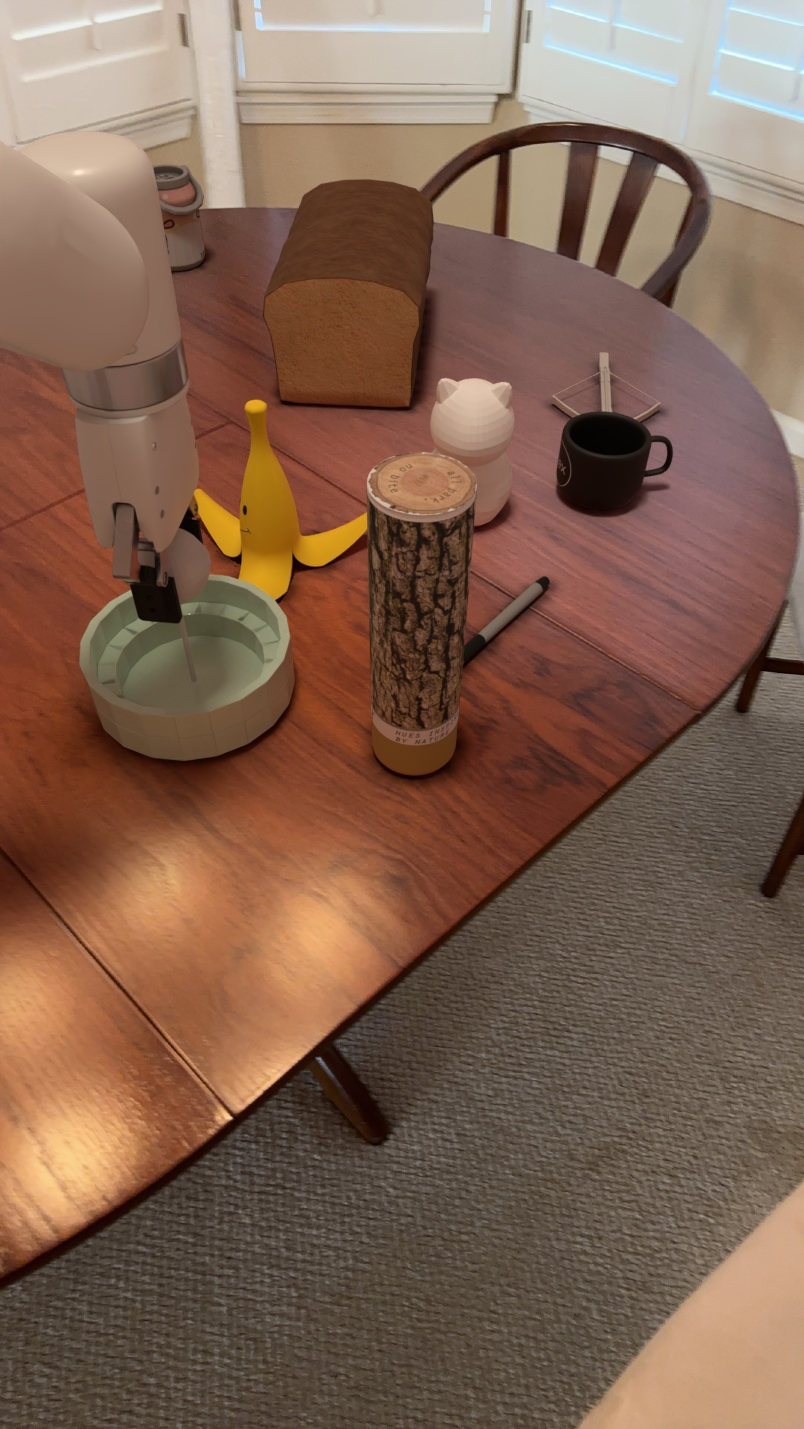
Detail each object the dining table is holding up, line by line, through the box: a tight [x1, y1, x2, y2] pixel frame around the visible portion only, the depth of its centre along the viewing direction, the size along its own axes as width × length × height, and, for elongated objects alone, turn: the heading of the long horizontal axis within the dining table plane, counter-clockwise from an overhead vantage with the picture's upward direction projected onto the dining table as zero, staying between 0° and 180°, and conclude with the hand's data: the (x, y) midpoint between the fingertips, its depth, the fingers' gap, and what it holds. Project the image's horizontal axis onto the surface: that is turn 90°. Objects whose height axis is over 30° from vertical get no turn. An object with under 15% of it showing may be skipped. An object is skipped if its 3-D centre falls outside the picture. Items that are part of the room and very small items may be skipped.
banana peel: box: [194, 399, 367, 601], centre depth 86 cm, size 17×19×17 cm
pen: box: [463, 575, 551, 665], centre depth 85 cm, size 1×16×1 cm, turn 141°
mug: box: [555, 410, 674, 510], centre depth 98 cm, size 12×9×7 cm
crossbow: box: [551, 351, 661, 423], centre depth 113 cm, size 16×13×2 cm
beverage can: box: [152, 163, 206, 272], centre depth 134 cm, size 9×8×12 cm
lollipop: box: [138, 528, 212, 682], centre depth 73 cm, size 6×6×15 cm
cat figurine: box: [429, 377, 516, 527], centre depth 93 cm, size 9×12×15 cm
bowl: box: [78, 573, 296, 762], centre depth 78 cm, size 17×17×6 cm
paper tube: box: [366, 451, 477, 776], centre depth 67 cm, size 7×7×25 cm
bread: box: [262, 178, 435, 409], centre depth 115 cm, size 18×30×16 cm, turn 176°
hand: (173, 588), depth 72 cm, fingers closed on lollipop, 6 cm apart
